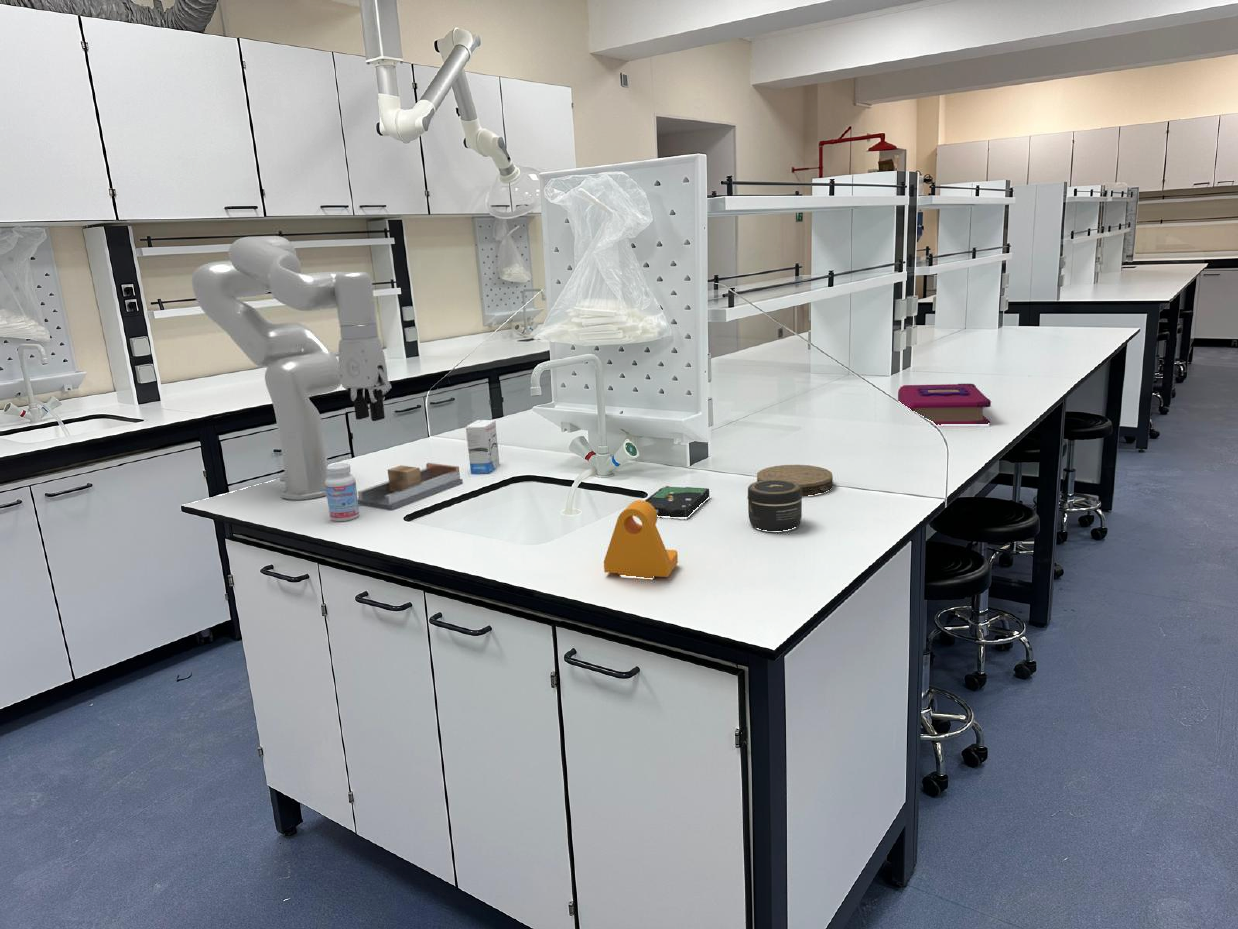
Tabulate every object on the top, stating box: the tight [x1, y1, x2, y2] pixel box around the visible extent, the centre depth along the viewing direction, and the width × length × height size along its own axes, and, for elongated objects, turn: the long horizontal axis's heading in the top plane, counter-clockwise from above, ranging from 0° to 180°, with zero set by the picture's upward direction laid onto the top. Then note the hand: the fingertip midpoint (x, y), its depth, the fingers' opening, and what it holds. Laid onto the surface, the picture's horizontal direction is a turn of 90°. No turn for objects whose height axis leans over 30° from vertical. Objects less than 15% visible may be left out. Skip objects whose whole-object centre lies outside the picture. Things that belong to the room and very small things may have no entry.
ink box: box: [465, 419, 501, 475], centre depth 213 cm, size 9×5×12 cm, turn 168°
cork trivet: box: [756, 464, 834, 496], centre depth 185 cm, size 16×16×3 cm
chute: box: [357, 462, 464, 511], centre depth 196 cm, size 11×22×4 cm, turn 147°
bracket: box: [603, 499, 679, 578], centre depth 142 cm, size 11×7×12 cm, turn 71°
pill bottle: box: [325, 462, 360, 522], centre depth 180 cm, size 6×6×11 cm
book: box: [897, 383, 992, 425], centre depth 243 cm, size 21×28×8 cm
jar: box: [747, 480, 803, 531], centre depth 161 cm, size 10×10×8 cm
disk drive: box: [644, 485, 710, 517], centre depth 176 cm, size 10×3×15 cm
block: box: [387, 465, 421, 492], centre depth 194 cm, size 6×4×5 cm, turn 57°
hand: (370, 418), depth 184 cm, fingers open, 4 cm apart
